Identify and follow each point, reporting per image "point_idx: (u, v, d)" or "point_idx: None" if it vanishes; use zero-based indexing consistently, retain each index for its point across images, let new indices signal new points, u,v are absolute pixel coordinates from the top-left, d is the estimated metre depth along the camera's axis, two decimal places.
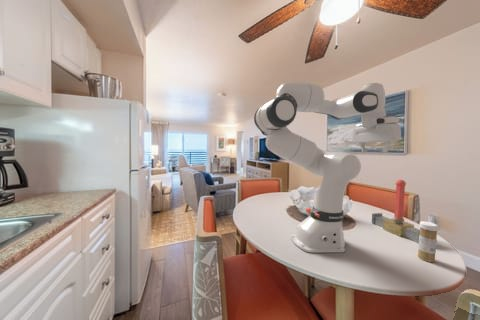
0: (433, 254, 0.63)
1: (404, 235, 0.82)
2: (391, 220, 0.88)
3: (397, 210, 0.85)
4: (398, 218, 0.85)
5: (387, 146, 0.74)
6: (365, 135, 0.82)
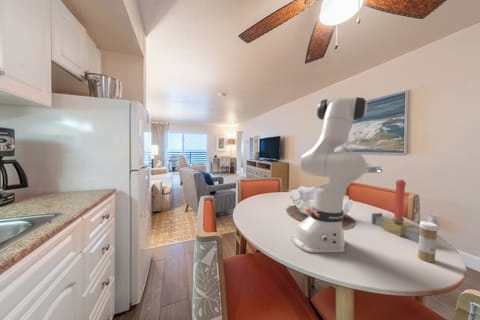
0: (433, 254, 0.63)
1: (404, 235, 0.82)
2: (391, 220, 0.88)
3: (397, 210, 0.85)
4: (398, 218, 0.85)
5: None
6: None
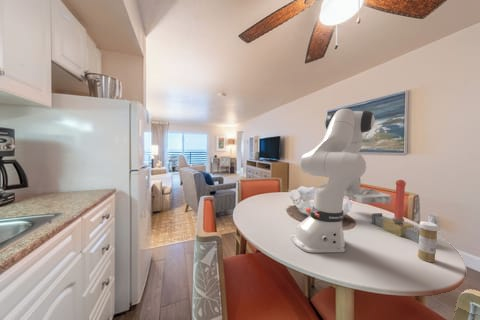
0: (433, 254, 0.63)
1: (404, 235, 0.82)
2: (391, 220, 0.88)
3: (397, 210, 0.85)
4: (398, 218, 0.85)
5: None
6: (368, 195, 0.98)
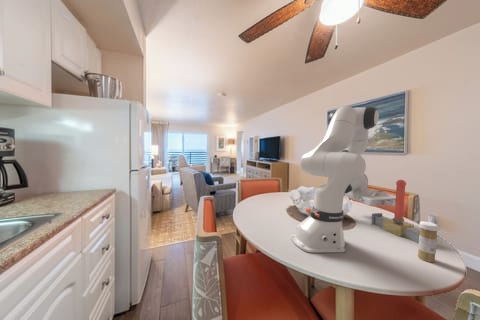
0: (433, 254, 0.63)
1: (404, 235, 0.82)
2: (391, 220, 0.88)
3: (397, 210, 0.85)
4: (398, 218, 0.85)
5: None
6: (377, 197, 0.93)
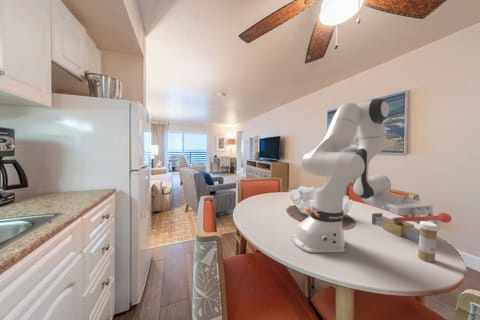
0: (433, 254, 0.63)
1: (404, 235, 0.82)
2: (391, 220, 0.88)
3: (407, 220, 0.81)
4: (399, 221, 0.85)
5: None
6: (404, 204, 0.81)
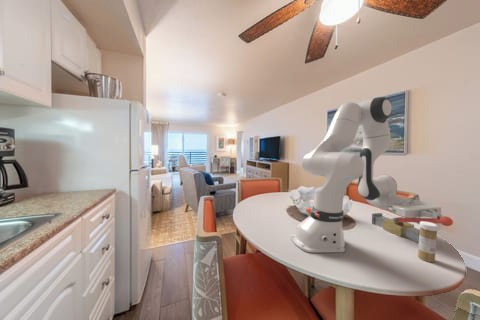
0: (433, 254, 0.63)
1: (404, 235, 0.82)
2: (391, 220, 0.88)
3: (407, 221, 0.81)
4: (399, 221, 0.85)
5: None
6: (412, 206, 0.78)
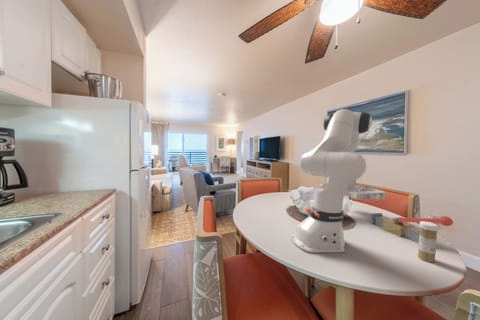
0: (433, 254, 0.63)
1: (404, 235, 0.82)
2: (391, 220, 0.88)
3: (407, 221, 0.81)
4: (399, 221, 0.85)
5: None
6: (363, 191, 1.01)
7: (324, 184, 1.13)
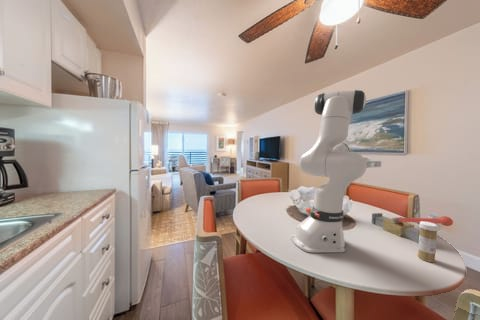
0: (433, 254, 0.63)
1: (404, 235, 0.82)
2: (391, 220, 0.88)
3: (407, 221, 0.81)
4: (399, 221, 0.85)
5: None
6: None
7: None
